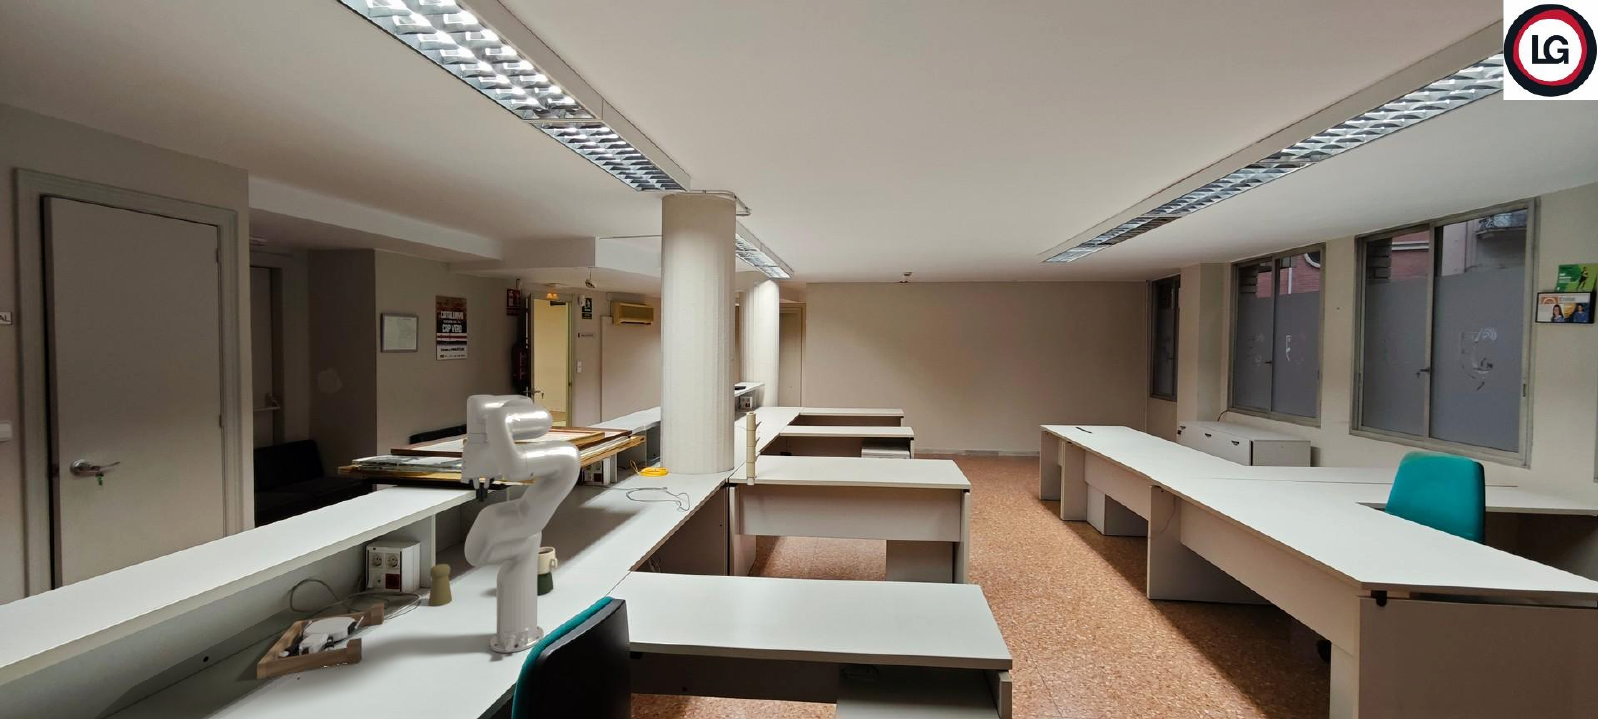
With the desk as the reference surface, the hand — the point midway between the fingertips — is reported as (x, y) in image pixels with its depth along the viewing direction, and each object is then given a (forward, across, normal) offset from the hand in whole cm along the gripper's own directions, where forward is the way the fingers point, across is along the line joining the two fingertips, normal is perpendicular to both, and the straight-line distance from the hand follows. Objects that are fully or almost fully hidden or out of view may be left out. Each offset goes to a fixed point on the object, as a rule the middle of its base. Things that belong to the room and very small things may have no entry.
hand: (481, 501), depth 164 cm
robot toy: (+32, +35, +6) cm, 48 cm away
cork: (+32, +12, -12) cm, 36 cm away
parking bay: (+32, +34, +7) cm, 47 cm away
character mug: (+32, -16, -8) cm, 37 cm away
